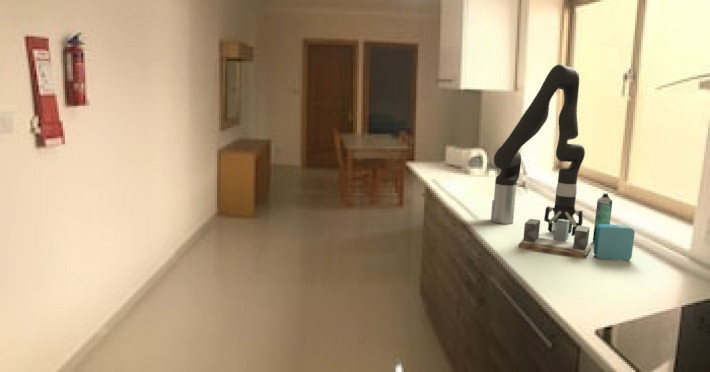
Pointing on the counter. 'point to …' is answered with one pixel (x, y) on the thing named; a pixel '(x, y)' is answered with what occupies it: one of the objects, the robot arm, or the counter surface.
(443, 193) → the counter surface
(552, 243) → the wooden block stand
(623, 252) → the blue rounded block
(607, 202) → the spray can
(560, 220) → the block
